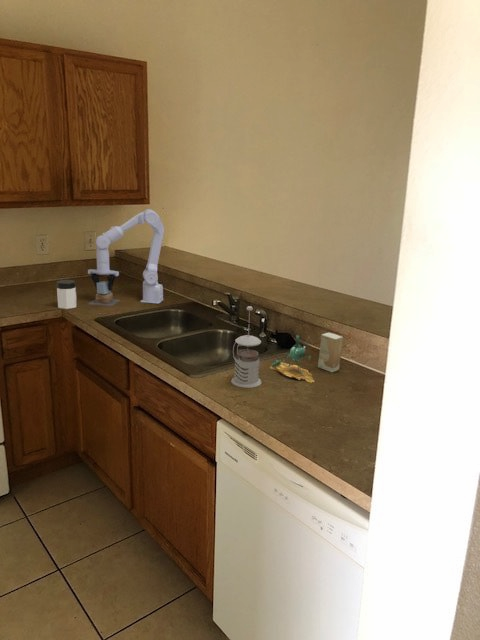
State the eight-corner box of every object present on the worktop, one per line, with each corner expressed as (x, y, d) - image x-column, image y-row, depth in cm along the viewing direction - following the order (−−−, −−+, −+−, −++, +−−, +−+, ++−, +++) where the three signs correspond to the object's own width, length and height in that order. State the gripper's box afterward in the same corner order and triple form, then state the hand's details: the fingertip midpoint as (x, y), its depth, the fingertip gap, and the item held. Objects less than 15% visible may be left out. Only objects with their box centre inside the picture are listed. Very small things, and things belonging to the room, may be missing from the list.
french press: (242, 390, 161) (246, 312, 154) (221, 377, 170) (224, 303, 163) (267, 383, 167) (272, 307, 160) (246, 371, 176) (249, 299, 169)
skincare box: (317, 367, 182) (320, 334, 178) (325, 364, 185) (328, 331, 181) (332, 373, 178) (335, 338, 174) (340, 370, 181) (343, 336, 177)
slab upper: (112, 296, 254) (112, 292, 253) (107, 299, 248) (107, 295, 248) (100, 295, 255) (100, 291, 254) (95, 298, 249) (95, 294, 248)
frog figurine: (283, 362, 186) (290, 324, 180) (322, 384, 173) (330, 344, 168) (264, 368, 180) (270, 328, 174) (302, 391, 167) (310, 349, 162)
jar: (76, 309, 239) (75, 283, 236) (57, 309, 237) (55, 283, 234) (77, 304, 248) (75, 279, 244) (58, 304, 246) (57, 279, 242)
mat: (120, 300, 257) (120, 299, 257) (111, 306, 246) (111, 305, 246) (97, 298, 259) (97, 297, 258) (87, 304, 247) (87, 304, 247)
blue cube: (110, 292, 251) (110, 282, 250) (103, 294, 248) (103, 284, 246) (104, 291, 253) (103, 281, 252) (97, 292, 250) (96, 282, 248)
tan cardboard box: (112, 300, 254) (112, 296, 254) (108, 303, 249) (107, 299, 248) (101, 299, 255) (100, 295, 255) (95, 302, 250) (95, 298, 249)
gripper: (120, 261, 249) (121, 288, 253) (91, 259, 251) (93, 286, 255) (115, 263, 243) (116, 292, 246) (85, 261, 244) (86, 290, 248)
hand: (104, 289), depth 250 cm, fingers closed on blue cube, 6 cm apart
